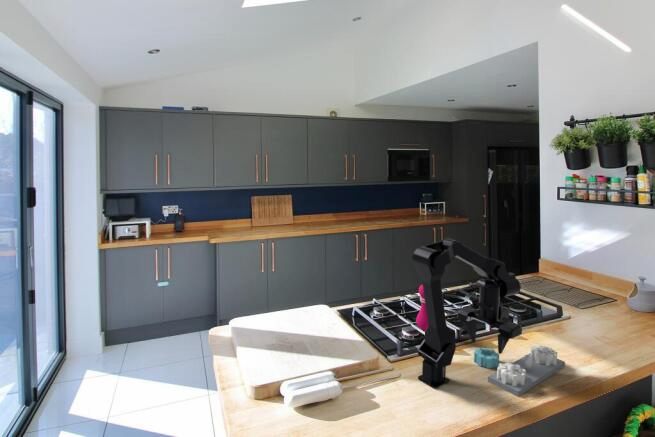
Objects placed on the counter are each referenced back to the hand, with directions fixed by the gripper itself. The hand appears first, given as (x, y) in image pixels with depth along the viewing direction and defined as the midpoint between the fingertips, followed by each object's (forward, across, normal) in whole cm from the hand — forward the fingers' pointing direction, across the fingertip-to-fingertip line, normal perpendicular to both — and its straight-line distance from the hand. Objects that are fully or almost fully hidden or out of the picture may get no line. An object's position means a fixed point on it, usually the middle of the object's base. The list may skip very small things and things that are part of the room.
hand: (486, 347), depth 124 cm
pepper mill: (+5, +25, -1) cm, 26 cm away
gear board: (+5, -11, -4) cm, 13 cm away
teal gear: (+5, 0, 0) cm, 5 cm away
